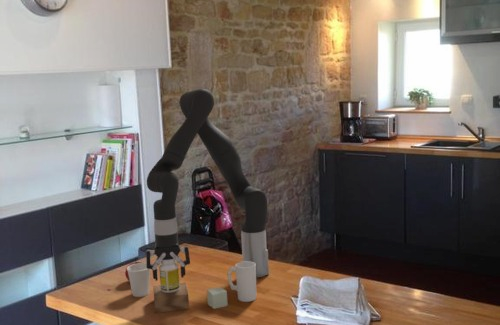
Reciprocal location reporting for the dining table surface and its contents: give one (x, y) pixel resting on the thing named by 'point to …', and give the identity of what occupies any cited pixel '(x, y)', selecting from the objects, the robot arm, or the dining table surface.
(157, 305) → the walnut block
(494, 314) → the dining table surface
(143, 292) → the dixie cup
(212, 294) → the sage block
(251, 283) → the mug
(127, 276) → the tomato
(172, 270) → the pill bottle
